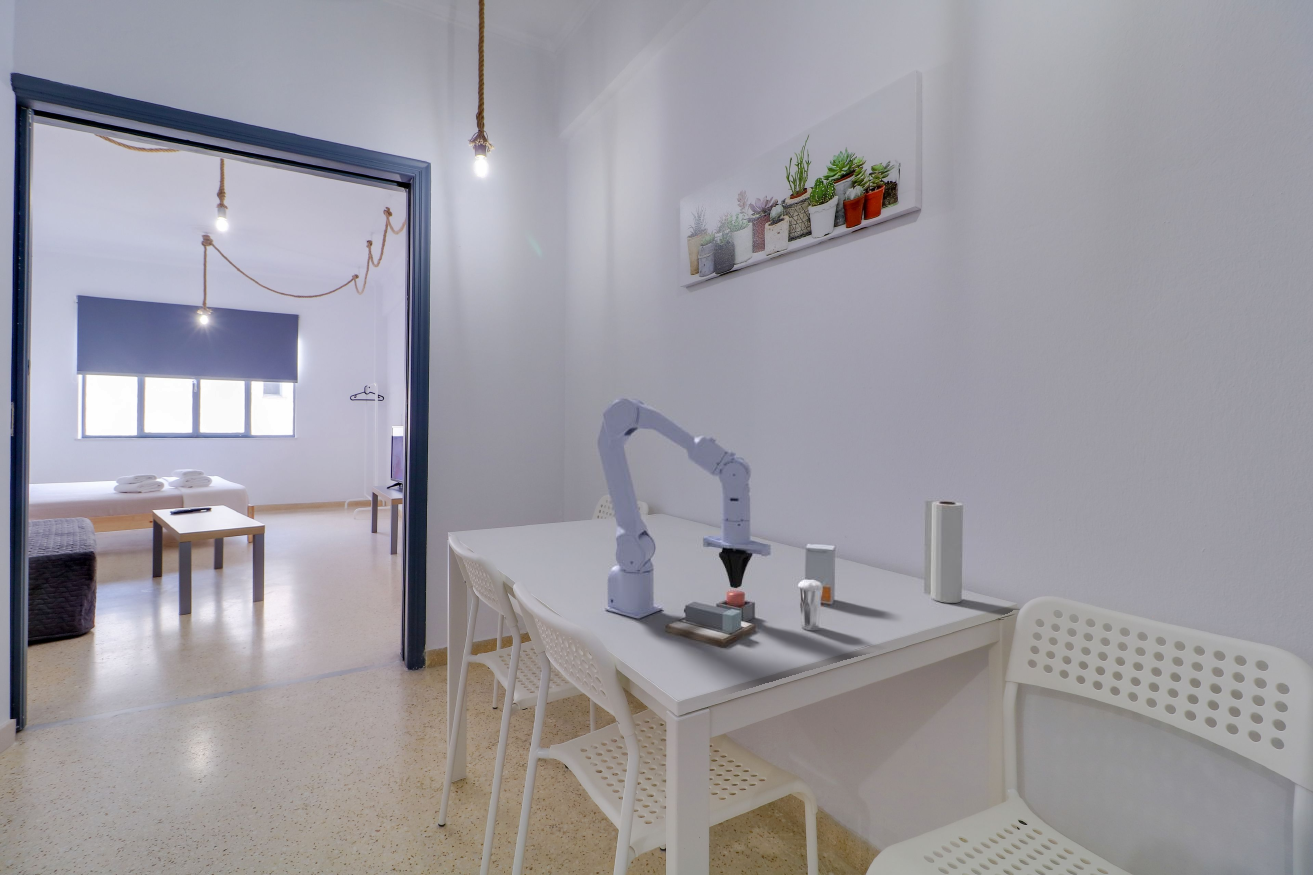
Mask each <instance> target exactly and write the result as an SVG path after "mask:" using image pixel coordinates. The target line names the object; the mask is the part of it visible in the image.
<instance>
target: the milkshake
mask: <svg viewBox="0 0 1313 875" xmlns="http://www.w3.org/2000/svg"><path fill="white" fill-rule="evenodd" d="M826 579H827V578H826ZM825 581H826V580H825ZM824 583H825V582H824ZM823 585H824V584H823ZM797 588H798V589H797V590H798V596H799V597H798V598H799V609H800V622H801V624H800V625H801V629H803V630H805V631H809V632H810V631H811V632H812V631H813V632H814V631H817V630H818V631H819V628H820V618H821V617H820V615H821V606H822V603H821V599H822V590H823V586H822V584H821V583H820V582H818V581H815V580H805V579H803V580H801V581H800V582H799V583H798V584H797Z"/></svg>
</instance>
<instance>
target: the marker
mask: <svg viewBox="0 0 1313 875" xmlns="http://www.w3.org/2000/svg"><path fill="white" fill-rule="evenodd" d="M683 612H684V617H685V621H687V622H691V623H695V624H699V625H703V626H707V627H711V628H715V629H719V630H723V631H726V632H730V633H733V632H735V631H737V630H739V629H741V611H739V610H734V609H731V610H729V609H724V608H720V607H716V605H715V606H714V605H709V604H706V603H702V602H697V601H693V602H691V603H688V604H685V606H684V609H683Z"/></svg>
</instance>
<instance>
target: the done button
mask: <svg viewBox="0 0 1313 875" xmlns="http://www.w3.org/2000/svg"><path fill="white" fill-rule="evenodd" d="M745 595H746V593H745V592H744V591H741V590H729V591H727V592H726V599H727V605H729V606H733V607H737V608H740V607H743V606H745V600H746V599H745V598H746V596H745Z"/></svg>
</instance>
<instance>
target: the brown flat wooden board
mask: <svg viewBox="0 0 1313 875" xmlns="http://www.w3.org/2000/svg"><path fill="white" fill-rule="evenodd" d="M664 628H665V632H667V633H670V634H674V635H678V636H682V637H686V638H689V639H692V640H695V641H699V642H703V643H707V644H709V645H713V646H716V647H717V646H718V647H721V648H723V649H724V648H726V647H727V646H729V645H731V644H733V643H735V642H737V641H738V640H740V639H741V638H744V637H746V636H747V635H749V634H751V633H753V632H755V631H756V624H755V623H749V622H742V621H741V629H739V630H737V631H735V632H733V633H730V632H726V631H723V630H719V629H715V628H711V627H707V626H703V625H699V624H695V623H691V622H687V621H685V616H684V617H682V618H680V619H678V620H675V621H672V622H670V623H669V624H666V625H665V627H664Z"/></svg>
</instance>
